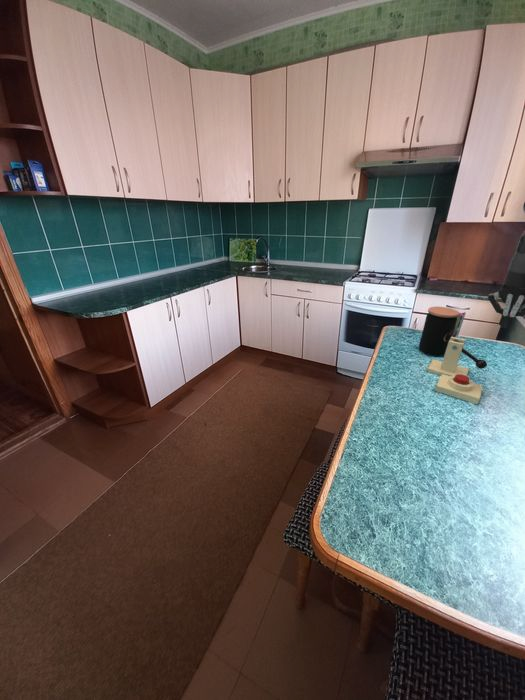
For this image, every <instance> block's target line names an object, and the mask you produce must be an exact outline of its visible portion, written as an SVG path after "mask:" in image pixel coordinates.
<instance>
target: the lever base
mask: <svg viewBox="0 0 525 700" xmlns="http://www.w3.org/2000/svg"><path fill="white" fill-rule="evenodd" d="M455 339H456V340H457V341H459V342H460V343H459V342H454V340H455ZM465 343H466V339H464V338H459V337H458V338H455V337H451V339H450V340H449V342H448V346H447V349H446V352H445V355H443V359H442V361H441V360H438V359H432V360H431V362H430V363H429V365H428V367H427V369H426V372H428V373H431V374H434V375H438V376H441V375H442V374H443V375H447V376H453V375H457V374H462V375H465V376H467V377H468V374H469V370H470V368H468V367H465V366H461V365H458V364H459V361H460V359H461V354H462V352H461V351H462V348H464V346H465Z"/></svg>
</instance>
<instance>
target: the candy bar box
mask: <svg viewBox="0 0 525 700" xmlns="http://www.w3.org/2000/svg"><path fill="white" fill-rule="evenodd" d="M436 307H440V306H438V305H437V306H436ZM455 310H456V311H458V312H459V315H458V316H457V322H456V325H455V329H454V332H453V335H452V337H455V338H459V335H460V331H461V329H462V326H463V322H464V320H465V317H466V311H463V310H459V309H458V310H457V309H455Z"/></svg>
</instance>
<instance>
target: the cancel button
mask: <svg viewBox="0 0 525 700" xmlns="http://www.w3.org/2000/svg"><path fill="white" fill-rule="evenodd" d="M469 380H471V379H470V377H469V376H468V375H467V376H465V375H462V374H457V375H455V378H454V382H456V383H458V384H461V385H468V383H469Z"/></svg>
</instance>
